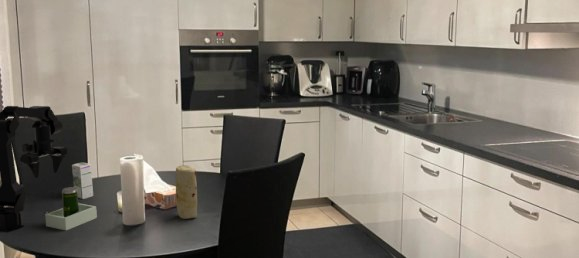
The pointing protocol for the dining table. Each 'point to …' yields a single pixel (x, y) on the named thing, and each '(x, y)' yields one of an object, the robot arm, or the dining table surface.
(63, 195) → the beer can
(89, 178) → the syrup box
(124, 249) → the dining table surface
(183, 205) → the food model
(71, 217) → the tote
